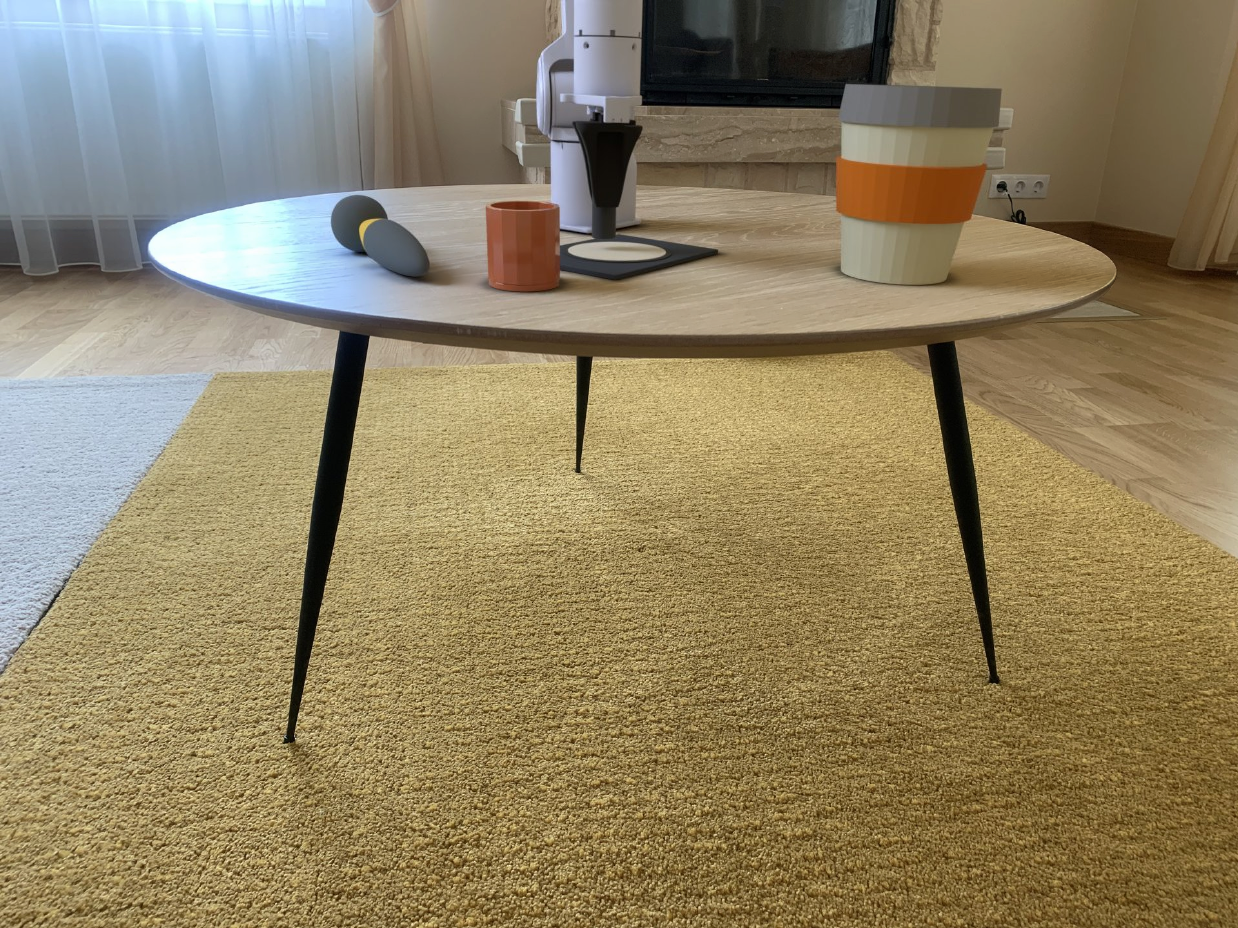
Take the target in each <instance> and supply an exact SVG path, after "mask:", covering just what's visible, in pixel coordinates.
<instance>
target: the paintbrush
mask: <svg viewBox="0 0 1238 928" xmlns="http://www.w3.org/2000/svg"><path fill="white" fill-rule="evenodd" d="M330 226H331V231H332V234H333V236H334V238H335V240H336V241H337V242H338V243H339V244H340V245H341V246H342V247H344V248H345V249H347V250H349V251H352V252H355V253H366V254H367V255H368V257H369V258H370V259H372V261H374V262H375V263H377V264H378V265H380V266H381V267H383V268H385V269H386V270H388V271H391V272H394V273H396V274H400V275H404V276H407V277H421V276H424V275H426V274H427V273H428V272H429V270H430V265H431V264H430V263H431V262H430V259H429V256H428V253H427V251H426V250H425V249H426V248H424V246H423V245H422V243H421V242H420V241H419V240H418V238H417V237H416V236H415V235H414V234H413V233H412V232H410V231H409V230H408V229H407V228H406V227H405V226H402V224H400V223H398V222H396V221H394V220H391V219H389V217H388V213H387V212H386V210H385V208H384V207H383V205H382V204H381V203H380V201H377V200H376V199H375V198H373V197H371V196H367V195H364V194H353V195H348V196H345V197H343V198H341V199H340V200H339V201H338V202H337V203H336V204H335V205H334V207H333V209H332V212H331V215H330Z"/></svg>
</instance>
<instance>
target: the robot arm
mask: <svg viewBox="0 0 1238 928" xmlns="http://www.w3.org/2000/svg"><path fill="white" fill-rule="evenodd" d="M560 12H561V13H560V14H561V35H560V36H559V37H558V38H557V39H556V40H554V41H553V42H552V43H551V44H549V45H548V46H547V47H545V49H543V50H542V51H541V53H540V57H539V58H538V60H537V68H536V74H537V75H536V92H535V93H536V96H535V97H536V122H537V129H538V130H539V131H540V132H541V133H542V135H543V136H546V135H547V136H548V138H549V140H550V203H554V204H558V205H559V207H560V230H563V231H571V232H579V233H585V234H592V195H593V200H594V203H595V206H596V207H616V229H620V228H625V227H632V226H636V225H641V224H642V221H643V220H642V219H640V218H636V211H637V180H638V179H637V178H638V177H637V176H638V165H637V159H636V156H635V153H634V150H635V148H636V147H635V146H636V145H637V142H638V141H639V138H640V137H641V134H642V132H643V129H644V127H643V125H641V124H637V120H635V114H636V107H641V106H642V105H643V96H642V95H641V68H642V36H643V35H642V29H643V0H560Z"/></svg>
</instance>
